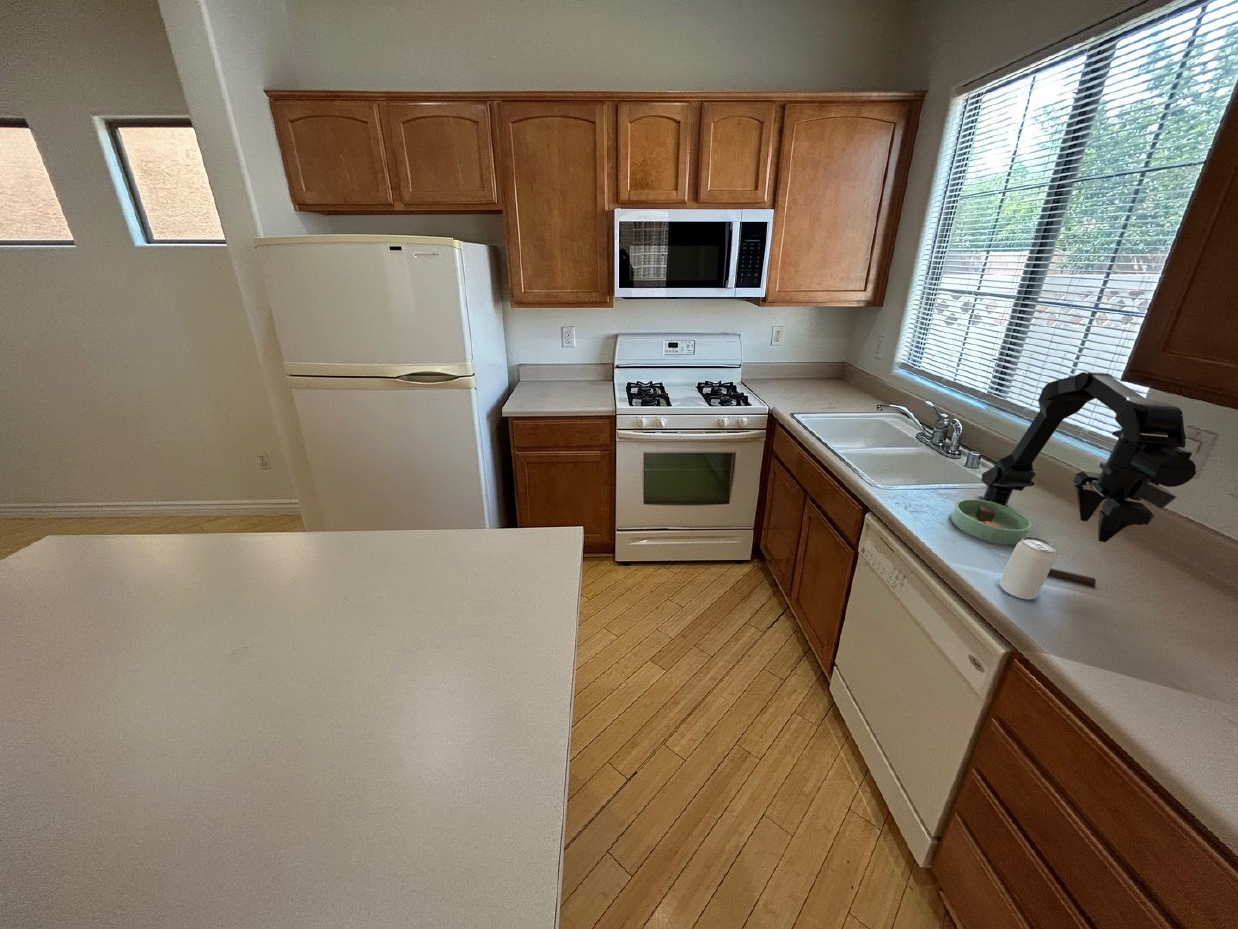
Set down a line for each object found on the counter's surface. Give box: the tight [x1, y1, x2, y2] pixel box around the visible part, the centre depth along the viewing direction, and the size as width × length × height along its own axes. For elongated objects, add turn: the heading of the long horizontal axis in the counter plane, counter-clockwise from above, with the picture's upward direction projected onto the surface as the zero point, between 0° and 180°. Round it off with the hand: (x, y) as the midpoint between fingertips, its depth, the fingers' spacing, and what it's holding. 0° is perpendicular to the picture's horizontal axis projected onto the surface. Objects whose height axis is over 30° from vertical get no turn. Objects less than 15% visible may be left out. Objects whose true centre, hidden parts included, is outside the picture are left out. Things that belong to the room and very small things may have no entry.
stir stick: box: [1047, 567, 1097, 587], centre depth 106 cm, size 2×2×12 cm
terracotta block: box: [984, 521, 1000, 528], centre depth 121 cm, size 3×3×3 cm
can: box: [999, 536, 1058, 601], centre depth 100 cm, size 6×6×12 cm
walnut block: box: [976, 506, 995, 522], centre depth 128 cm, size 3×3×3 cm
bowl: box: [950, 498, 1033, 545], centre depth 124 cm, size 16×16×4 cm
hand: (1092, 530), depth 102 cm, fingers open, 9 cm apart
